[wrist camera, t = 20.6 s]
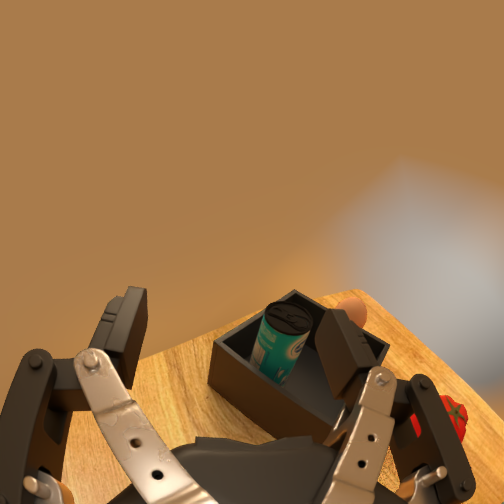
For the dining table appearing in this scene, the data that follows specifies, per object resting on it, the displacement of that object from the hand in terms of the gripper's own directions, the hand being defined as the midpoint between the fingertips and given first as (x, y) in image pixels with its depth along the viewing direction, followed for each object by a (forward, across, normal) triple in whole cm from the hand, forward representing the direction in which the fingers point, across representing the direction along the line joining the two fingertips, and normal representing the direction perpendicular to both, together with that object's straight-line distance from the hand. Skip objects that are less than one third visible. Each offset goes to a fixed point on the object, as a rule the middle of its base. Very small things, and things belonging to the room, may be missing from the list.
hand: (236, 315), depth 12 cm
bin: (+15, -15, +28) cm, 35 cm away
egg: (+29, -29, +28) cm, 50 cm away
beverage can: (+14, -9, +27) cm, 32 cm away
